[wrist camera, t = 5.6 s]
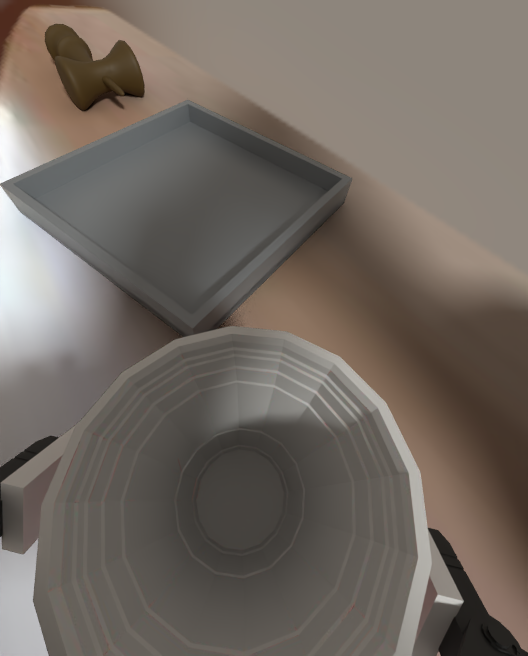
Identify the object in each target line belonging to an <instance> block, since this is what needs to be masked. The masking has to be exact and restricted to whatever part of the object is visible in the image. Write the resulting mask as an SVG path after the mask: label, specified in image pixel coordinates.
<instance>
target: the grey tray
mask: <svg viewBox="0 0 528 656" xmlns="http://www.w3.org/2000/svg"><path fill="white" fill-rule="evenodd" d="M351 181H352V178H350V177H348V176H346V175H344V174H342V173H340V172H338V171H336V170H334V169H332V168H329V167H327V166H325V165H323V164H321V163H319V162H317V161H315V160H313V159H311V158H309V157H306V156H304V155H302V154H300V153H298V152H296V151H294V150H292V149H290V148H288V147H286V146H283V145H281V144H279V143H277V142H275V141H273V140H271V139H269V138H267V137H265V136H263V135H260V134H258V133H256V132H254V131H252V130H250V129H248V128H246V127H244V126H242V125H240V124H237V123H235V122H233V121H231V120H229V119H227V118H225V117H223V116H221V115H219V114H217V113H215V112H212V111H210V110H208V109H206V108H204V107H202V106H200V105H198V104H196V103H194V102H192V101H189V100H186V101H184V102H182V103H179V104H177V105H175V106H173V107H170V108H168V109H166V110H164V111H161V112H159V113H157V114H155V115H153V116H150V117H148V118H146V119H144V120H141V121H139V122H137V123H135V124H132V125H130V126H128V127H126V128H123V129H121V130H119V131H117V132H115V133H112V134H110V135H108V136H106V137H103V138H101V139H99V140H97V141H94V142H92V143H90V144H88V145H86V146H83V147H81V148H79V149H77V150H74V151H72V152H70V153H68V154H65V155H63V156H61V157H59V158H56V159H54V160H52V161H50V162H48V163H45V164H43V165H41V166H39V167H36V168H34V169H32V170H30V171H27V172H25V173H23V174H21V175H19V176H16V177H14V178H12V179H10V180H7V181H5V182H3V183H1V184H0V186H1V187H2V188H3V190H4V191H5V192H6V194H7V195H8V196H9V198H10V199H11V200H12V202H13V203H14V204H15V206H16V207H17V208H18V210H19V211H20V212H21V213H22V214H24V215H25V216H26V217H28V218H29V219H30V220H31V221H33V222H34V223H35V224H37V225H38V226H39V227H41V228H42V229H43V230H45V231H46V232H47V233H48V234H50V235H51V236H52V237H54V238H55V239H56V240H58V241H59V242H60V243H61V244H63V245H64V246H65V247H67V248H68V249H69V250H71V251H72V252H73V253H75V254H76V255H77V256H78V257H80V258H81V259H82V260H84V261H85V262H86V263H88V264H89V265H90V266H92V267H93V268H94V269H95V270H97V271H98V272H99V273H101V274H102V275H103V276H105V277H106V278H107V279H109V280H110V281H111V282H112V283H114V284H115V285H116V286H118V287H119V288H120V289H122V290H123V291H124V292H126V293H127V294H128V295H129V296H131V297H132V298H133V299H135V300H136V301H137V302H139V303H140V304H141V305H143V306H144V307H145V308H146V309H148V310H149V311H150V312H152V313H153V314H154V315H156V316H157V317H158V318H160V319H161V320H162V321H163V322H165V323H166V324H167V325H169V326H170V327H171V328H173V329H174V330H175V331H176V332H178V333H179V334H180V335H182V336H183V337H187V336H191V335H195V334H199V333H203V332H208V331H212V330H216V329H217V328H218V327H219V326H220V325H221V324H222V323H223V322H224V321H225V320H226V319H227V318H228V317H229V316H230V315H231V314H232V313H233V312H234V311H235V310H236V309H237V308H238V307H239V306H240V305H241V304H242V303H243V302H244V301H245V300H246V299H247V298H248V297H249V296H250V295H251V294H252V293H253V292H254V291H255V290H256V289H257V288H259V287H260V286H261V285H262V284H263V283H264V282H265V281H266V280H267V279H268V278H269V277H270V276H271V275H272V274H273V273H274V272H275V271H276V270H277V269H278V268H279V267H280V266H281V265H282V264H283V263H284V262H285V261H286V260H287V259H288V258H289V257H290V256H291V255H292V254H293V253H294V252H295V251H296V250H297V249H298V248H299V247H300V246H301V245H302V244H303V243H304V242H305V241H306V240H307V239H308V238H309V237H310V236H311V235H312V234H313V233H314V232H315V231H316V230H317V229H318V228H319V227H320V226H321V225H322V224H323V223H324V222H325V221H326V220H327V219H328V218H329V217H330V216H331V215H332V214H333V213H334V212H335V211H336V210H337V209H338V208H339V207H340V206H341V205H342V204H343V203H344V201H345V198H346V195H347V193H348V190H349V187H350V184H351Z"/></svg>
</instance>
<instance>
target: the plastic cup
mask: <svg viewBox="0 0 528 656" xmlns="http://www.w3.org/2000/svg"><path fill="white" fill-rule="evenodd" d="M431 565H432V558H431V551H430V543H429V535H428V528H427V520H426V512H425V505H424V497H423V489H422V482H421V474H420V471H419V468H418V466H417V464H416V462H415V460H414V458H413V456H412V454H411V452H410V450H409V448H408V446H407V444H406V442H405V440H404V438H403V436H402V434H401V432H400V430H399V428H398V426H397V424H396V422H395V420H394V418H393V416H392V414H391V412H390V410H389V408H388V406H387V403H386V402H385V401H384V400H383V399H382V398H381V397H380V396H379V395H378V394H377V393H376V392H375V391H374V390H373V389H372V388H371V387H370V386H369V385H368V384H367V383H366V382H365V381H364V380H363V379H362V378H361V377H360V376H359V375H358V374H357V373H356V372H355V371H354V370H353V369H352V368H351V367H350V366H349V365H348V364H347V363H346V362H345V361H344V360H343V359H342V358H341V357H339V356H337V355H335V354H333V353H331V352H329V351H327V350H325V349H322V348H320V347H318V346H316V345H314V344H312V343H310V342H308V341H306V340H304V339H301V338H299V337H297V336H295V335H293V334H291V333H289V332H286V331H277V330H267V329H257V328H247V327H237V326H229V327H224V328H220V329H216V330H212V331H208V332H203V333H199V334H195V335H191V336H187V337H182V338H178V339H175V340H173V341H172V342H170V343H168V344H167V345H165V346H164V347H162V348H160V349H159V350H157V351H155V352H154V353H152V354H151V355H149V356H147V357H146V358H144V359H143V360H141V361H139V362H138V363H136V364H135V365H133V366H131V367H130V368H128V369H126V370H125V371H123V372H122V373H121V374H120V375H119V376H118V377H117V379H116V380H115V381H114V382H113V383H112V384H111V386H110V387H109V388H108V389H107V390H106V391H105V393H104V394H103V395H102V396H101V397H100V398H99V400H98V401H97V402H96V403H95V404H94V405H93V407H92V408H91V409H90V410H89V411H88V412H87V414H86V415H85V416H84V417H83V418H82V419H81V421H80V422H79V423H78V424H77V425H76V426H75V428H74V430H73V433H72V435H71V437H70V440H69V442H68V444H67V447H66V449H65V451H64V454H63V456H62V458H61V460H60V463H59V465H58V467H57V470H56V472H55V474H54V477H53V479H52V481H51V484H50V486H49V488H48V491H47V493H46V495H45V498H44V500H43V502H42V506H41V517H40V528H39V539H38V551H37V562H36V573H35V585H34V596H33V602H34V606H35V609H36V613H37V616H38V620H39V623H40V627H41V630H42V633H43V637H44V640H45V644H46V647H47V651H48V654H49V656H412V651H413V647H414V642H415V638H416V633H417V629H418V624H419V620H420V615H421V611H422V606H423V602H424V597H425V593H426V588H427V584H428V579H429V574H430V570H431Z"/></svg>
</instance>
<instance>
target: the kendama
mask: <svg viewBox="0 0 528 656" xmlns="http://www.w3.org/2000/svg"><path fill="white" fill-rule="evenodd" d="M45 43H46V46H47V50H48V52H49V53H50V55H51V57H52V58H53V59H54V60H55V64H56V68H57V71H58V73H59V76H60V78H61V81H62V83H63V85H64V87H65V89H66V91H67V92H68V94H69V96H70V97H71V99H72V101H73V102H74V103H75V105H76V106H77V107H78V108H79V109H81V110H82V111H85V110H86V109H87V108H88V107H89V106H90V105H91V104H92V102H93V101H94V100H95V99H96V98H97V97H99V96H100V95H102V94H104V93H108V92H111V91H114V92H115V93H117V94H118V95H120V96H124V95H125V94H124V92H127V93H130V94H133V95H135V96H139V97H142V96H143V95H144V81H143V76H142V73H141V69H140V66H139V64H138V61H137V59H136V57H135V55H134V53H133V51H132V50H131V48H130V47H129V46H128V44H127V43H126V42H125V41H121V40H119V41H118V42H117V43H116V44H115V45H114V47H113V48H112V50H111V51H110V53H109V54H108V55H107V56H106V57H105V58H103V59H102V60H96V61H93V59H92V54H91V51H90V49H89V47H88V45H87V44H86V43H85V42H84V41H83V39H81V38H79V36H78V35H77V34H76V32H75V31H74V30H73V29H72V28H70V27H68V26H66V25H64V24H54V25H52V26H49V27H48V29H47V30H46V32H45ZM123 91H124V92H123Z"/></svg>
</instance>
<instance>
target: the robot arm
mask: <svg viewBox="0 0 528 656" xmlns="http://www.w3.org/2000/svg"><path fill="white" fill-rule="evenodd" d="M76 425H77V424H76ZM76 425H75V426H76ZM75 426H74V427H72V428H71V429H70V430H68V431H67V432H66V433H65V434H63V435H62V436H61V437H59V438H58V437H54V436H49V437H46V438H44V439H42V440H39V441H37V442H35V443H34V444H32V445H31V446H30V447H28V448H27V449H25V451H24V452H21V453H20V454H18V455H17V456H16V457H15V458H14V459H11V460H10V461H9V462H7V463H6V464H4V465H3V466H2V467H0V537H1V536H2V549H4V550H8V551H11V552H15V553H19V554H24V553H25V552H26V551H27V550H28V549H29V548H30V547H31V545H32V544H33V543H34V542H35V541H36V540H37V539H38V538H39V528H40V517H41V506H42V502H43V500H44V498H45V495H46V493H47V491H48V488H49V486H50V484H51V481H52V479H53V477H54V474H55V472H56V470H57V467H58V465H59V463H60V460H61V458H62V456H63V454H64V451H65V449H66V447H67V444H68V442H69V440H70V437H71V435H72V433H73V430H74V428H75ZM428 535H429V543H430V551H431V558H432V565H431V570H430V574H429V579H428V584H427V588H426V593H425V597H424V602H423V606H422V611H421V615H420V620H419V624H418V629H417V633H416V638H415V642H414V647H413V651H412V656H436V655H437V653H438V651H439V652H440V655H441V656H528V652H526V651H524V650H523V649H521V647H520V645H519V643H518V642H517V640H516V639H515V638H514V637H513V635H512V634H511V633H510V631H509V630H508V629H506V628H505V627H504V626H503V625H502V624H501V623H500V622H499V621H497V620H496V619H494V618H493V617H491V616H490V615H489V614H488V612H487V610H486V609H485V607H484V605H483V603H482V601H481V599H480V598H479V596H478V594H477V592H476V590H475V589H474V587H473V585H472V583H471V581H470V579H469V578H468V576H467V574H466V572H465V571H464V570H463V569H464V568H463V567H462V565H461V563H460V561H459V560H458V559H457V556H456V554H455V552H454V550H453V548H452V547H451V545H450V543H449V542H448V541H447V540H446V539H445V537H444V536H443V535H442V534H441V533H440V532H439V531H438V530H435V529H431V528H428Z"/></svg>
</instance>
